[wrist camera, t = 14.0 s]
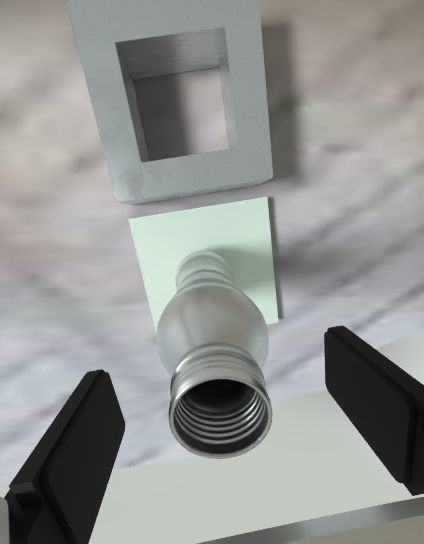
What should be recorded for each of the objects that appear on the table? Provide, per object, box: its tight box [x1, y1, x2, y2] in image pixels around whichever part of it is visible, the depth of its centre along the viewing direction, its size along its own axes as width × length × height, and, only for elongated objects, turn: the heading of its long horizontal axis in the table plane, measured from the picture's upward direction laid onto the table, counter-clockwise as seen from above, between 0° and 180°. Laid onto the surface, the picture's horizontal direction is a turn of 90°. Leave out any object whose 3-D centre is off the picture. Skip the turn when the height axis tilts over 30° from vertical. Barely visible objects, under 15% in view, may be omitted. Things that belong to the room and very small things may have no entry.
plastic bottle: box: [156, 251, 272, 459], centre depth 17 cm, size 6×7×20 cm
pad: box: [129, 197, 278, 333], centre depth 28 cm, size 16×16×1 cm
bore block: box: [66, 0, 273, 205], centre depth 21 cm, size 15×15×5 cm
